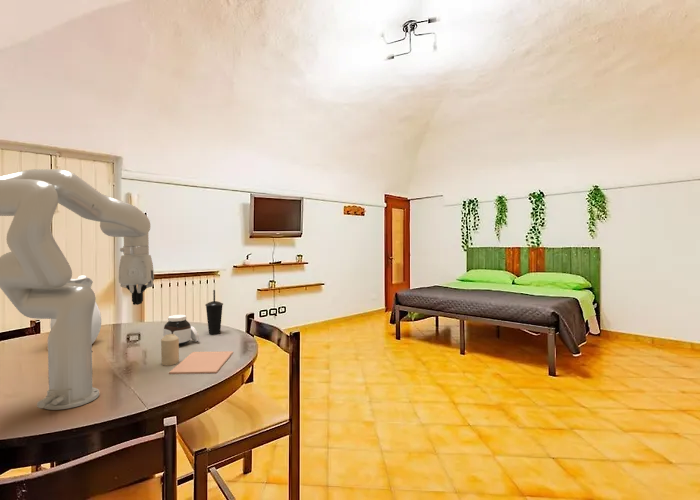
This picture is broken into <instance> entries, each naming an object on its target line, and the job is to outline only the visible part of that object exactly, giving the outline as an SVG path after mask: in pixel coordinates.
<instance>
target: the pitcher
mask: <svg viewBox="0 0 700 500" xmlns="http://www.w3.org/2000/svg"><path fill="white" fill-rule="evenodd" d="M93 281H94V280H92V279H91V278H89V277H88V276H87V275H85V274H84V275H83V274H82V275H78V276H77V278H71V280H70V281H69V282H68V283H78V284H83V285H86V286H88V287H90V288H91V289H92V285H93V283H94V282H93ZM55 322H56V319H50V322H49V323H50V325H49V327H50V330H51V329H52V327H53V326H54V324H55ZM101 327H102V314H101V311H100V308H99V306H98V303H97V302H96V300H95V307H94V311H93V317H92V333H91V334H92V344H94V342H95V341H96V340H97V338H98V336H99V334H100V331H101Z"/></svg>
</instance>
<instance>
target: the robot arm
mask: <svg viewBox="0 0 700 500" xmlns="http://www.w3.org/2000/svg"><path fill="white" fill-rule="evenodd" d="M58 205H60V206H62V207H64V208H65V209H68V211H69V210H70V211H71V212H73V213H74V214H76V215H77V216H79V217H81V218H83V219H85V220H89V221H95V222H99V227H100V231H101V232H102V233H104V235H106V236H108V237H113V238H123V246H122V247H120V248H119V252H121V253H123V255H121V256H120V261H119V266H118V283H119V284H120V288H124V289H127V290H128V291H129V293H130V294H131V302H132V305H133V306H136V305H137V306H138V305H141V304H143V301H144V292H145V291H146V290H147V289H148V288H152V287H154V286H155V283H154V281H155V273H154V272H155V271H154V264H153V259H152V255H151V254H150V247H149V245H150V244H149V238H150V237H149V232H150V230H151V220H150V219H149V217H148V216H147V214H145V213H144V212H143V211H142V210H141V209H139V208H138V207H136V206H135V205H133V204H131V203H128V202H125V201H123V200H120V199H117V198H115V197H112V196H109V195H107V194H106V195H105V194H103V193H102V192H100V191H98V190H97V189H96V188H94V187H93V186H92V185H90V184H89V183H88V182H87V181H85V180H83V178H81V177H80V176H78V175H77V174H75V173H73V172H72V171H70V170H66V169H61V168H60V169H56V168H53V169H49V168H47V169H44V168H42V169H41V168H40V169H39V168H38V169H35V168H34V169H25V170H21V171H16V172H13V173H9V174H8V173H7V174H5V175H0V217H12V218H13V219H12V221H11V223H10V225H9V228H8V230H7V233H6V244H7V247H8V248H9V251H8V252H6V253H4V254H2V255H0V289H1V291H2V292H3V293H4V295H5V296H6V297H7V298H8V299H9V301H10V302H11V303H12V305H13V306H14V307H15V309H17V311H18V312H19V313H20V314H22V315H23V317H26V318H30V319H38V320H40V319H43V320H46V319H47V320H48V319H49V320H51V319H56V322H55V324H54V326H53V327H52V329H51V328H50V330H49V333H48V335H47V358H48V359H47V365H48V367H47V369H48V390H46V396H45V397H44V398H42V399H40V400H39V401H37V402H36V407H37V408H38V409H45V410H50V411H56V410H58V411H59V410H66V409H73V408H76V407H80V406H83V405H86V404H89V403H90V402H92V401H95V400H96V399H97V398H99V396H100V389H98V388H97V387H94V386H93V352H92V351H93V345H92V334H91V333H92V317H93V311H94V307H95V301H96V293H95V291H94V290H93V288H92V287H91V288H90V287H88V286H86V285H83V284H78V283H68V282H69V281H70V280H71V279H72V278H73V271H72V268H71V265H70V263H69V261H68V259H67V258H66V257H65V254H64V253H63V251H62V250H61V248H60V246H59V245H58V243H57V241H56V240H55V238H54V235H53V232H52V228H51V227H52V222H53V218H54V214H55V212H56V210H57V207H58Z"/></svg>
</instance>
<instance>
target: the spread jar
mask: <svg viewBox="0 0 700 500" xmlns="http://www.w3.org/2000/svg"><path fill="white" fill-rule="evenodd" d="M169 334H175V335H176V336H177V337H178V338H179V347H182V346H183V347H184V346H186V345H187V344H188V343H189V342H191V340H192V341H193V342H195V343H197V342H198V341H200V335H199V332H198V331H197V329H196V328H195V327H194V326H193V325H191V324H190V322H189V321H188V320H187V315H185V314H174V315H169V316H168V317H167V322H166V323H165V324H164V326H163V337H164V336H165V335H169Z"/></svg>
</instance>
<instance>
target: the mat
mask: <svg viewBox="0 0 700 500" xmlns="http://www.w3.org/2000/svg"><path fill="white" fill-rule="evenodd" d="M233 354H234V351H233V350H232V351H230V350H229V351H225V350H223V351H192V352H191V353H189V355H188V356H186V357H184V359H183V360H182V361H179V362H178V363H177V364H176V366H174V367H173V368H172V369H171V370H170V371H168V375H186V374H187V375H190V374H191V375H192V374H194V375H195V374H199V375H200V374H201V375H202V374H205V375H206V374H217V373H218V372H219V371H220V370H221V368H222V367H223V366H224V365H225V364H226V362H227V361H228V360H229V359H230V358H231V357H232V355H233Z"/></svg>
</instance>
